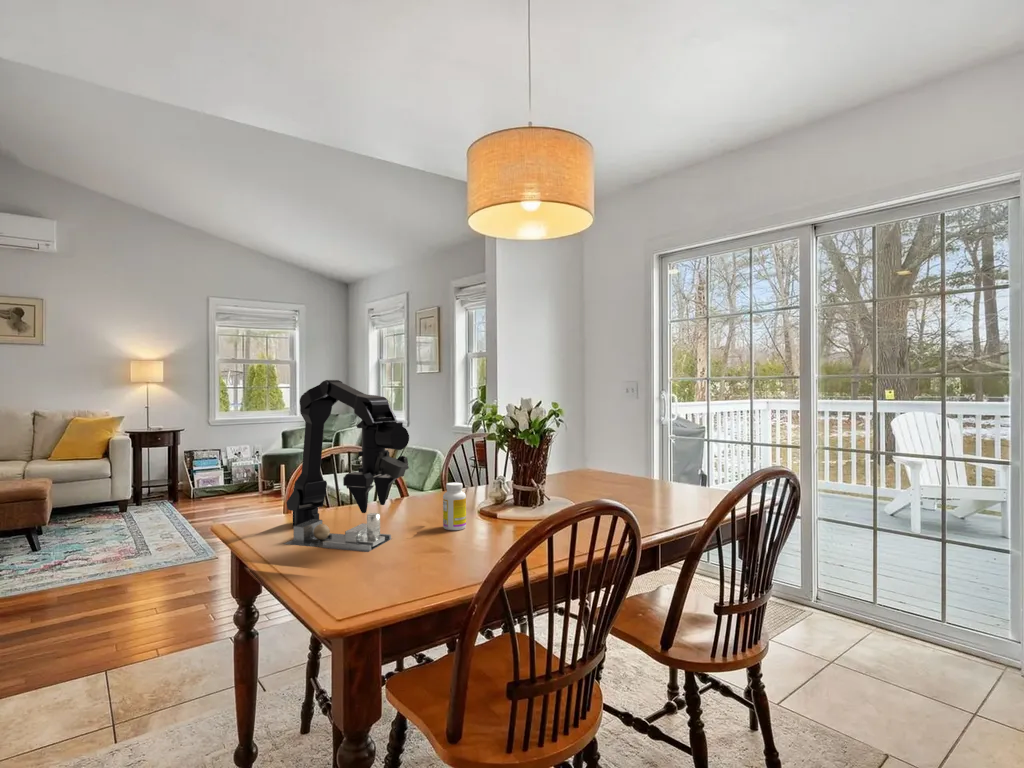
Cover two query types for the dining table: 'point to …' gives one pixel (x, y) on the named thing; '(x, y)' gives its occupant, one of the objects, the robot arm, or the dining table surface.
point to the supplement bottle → (454, 507)
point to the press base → (333, 541)
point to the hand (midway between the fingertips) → (373, 508)
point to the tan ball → (321, 531)
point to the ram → (366, 532)
